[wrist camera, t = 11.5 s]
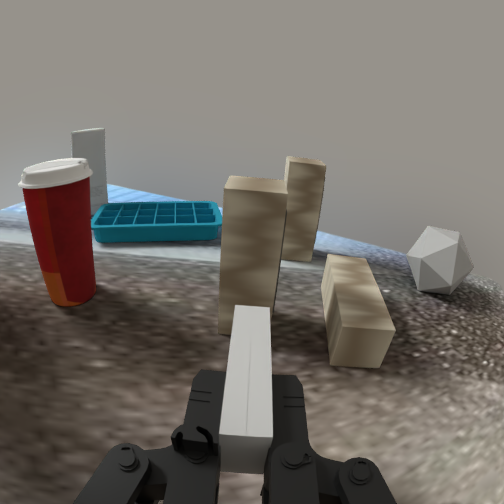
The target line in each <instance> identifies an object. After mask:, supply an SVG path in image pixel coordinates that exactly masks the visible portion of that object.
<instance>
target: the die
mask: <svg viewBox="0 0 504 504" xmlns="http://www.w3.org/2000/svg"><path fill="white" fill-rule="evenodd" d="M406 256H407V259H408V262H409V265H410V268H411V271H412V274H413V277H414V280H415V283H416V286H417V289H418V291H424V292H432V293H440V294H448V295H450V294H451V293H452V292H453V291H454V290H455V289H456V288H457V286H458V285H459V284H460V283H461V282H462V281H463V280H464V278H465V277H466V276H467V275H468V274H469V273H470V272H471V270H472V269H473V268H474V266H473V263H472V261H471V258H470V256H469V253H468V251H467V248H466V246H465V243H464V241H463V239H462V236H461V234H460V233H459V232H455V231H451V230H446V229H441V228H436V227H431V226H428V227H427V228H426V229H425V231H424V232H423V233H422V235H421V236H420V238H419V239H418V240H417V242H416V243H415V244H414V246H413V247H412V248H411V250H410V251H409V252H408V253H407V255H406Z"/></svg>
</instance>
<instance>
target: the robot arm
mask: <svg viewBox="0 0 504 504" xmlns="http://www.w3.org/2000/svg"><path fill="white" fill-rule="evenodd" d="M171 440H172V445H171V446H168V447H166V448H161V449H153V450H143V449H142V448H140V447H139V446H137V445H134V444H130V443H126V444H119V445H117V446H114V447H113V448H112V449H111V450H110V451H109V452H108V454H107V455H106V457H105V458H104V459H103V461H102V462H101V464H100V465H99V467H98V468H97V470H96V471H95V472H94V474H93V475H92V477H91V478H90V480H89V481H88V483H87V484H86V485H85V487H84V488H83V490H82V491H81V493H80V494H79V496H78V497H77V498H76V500H75V501H74V503H73V504H158V502H159V500H164V502H163V504H217V503H218V493H219V477H220V471H222V472H234V473H249V474H263V473H264V484H263V487H262V490H261V494H260V496H262V504H397V503H396V501H395V500H394V498H393V496H392V494H391V492H390V490H389V488H388V486H387V484H386V482H385V480H384V479H383V477H382V475H381V473H380V471H379V469H378V467H377V466H376V465H375V464H374V463H373V462H372V461H370V460H368V459H366V458H360V457H358V458H351V459H349V460H347V461H346V462H339V461H335V460H330V459H327V458H324V457H321V456H320V455H318V454H317V453H316V452H315V451H314V450H313V449H312V448H311V446H310V443H309V440H308V430H307V421H306V412H305V403H304V394H303V386H302V384H301V383H300V381H299V380H298V378H297V376H296V375H273V374H272V369H271V333H270V307H257V306H244V305H235V310H234V318H233V326H232V333H231V341H230V349H229V357H228V365H227V372H221V371H211V370H200V372H199V373H198V374H197V375H196V376H195V378H194V379H193V383H192V388H191V392H190V396H189V401H188V405H187V410H186V414H185V419H184V424H183V425H180V426H179V427H178V428H177V429H175V430H174V432H173V434H172V436H171Z"/></svg>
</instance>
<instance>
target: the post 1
mask: <svg viewBox="0 0 504 504" xmlns="http://www.w3.org/2000/svg"><path fill="white" fill-rule="evenodd" d="M287 198H288V192H287V189H286V186H285V183H284V180H276V179H265V178H254V177H242V176H230V177H229V179H228V181H227V183H226V185H225V187H224V198H223V216H222V236H221V259H220V285H219V317H218V334H227V335H231V333H232V326H233V318H234V310H235V305H244V306H257V307H270V325H271V318H272V313H273V312H274V306H275V299H276V292H277V285H278V278H279V271H280V263H281V256H282V249H283V241H284V233H285V226H286V218H287V209H286V207H287Z"/></svg>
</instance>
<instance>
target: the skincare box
mask: <svg viewBox="0 0 504 504" xmlns="http://www.w3.org/2000/svg"><path fill="white" fill-rule="evenodd" d="M71 148H72V149H71V151H72V158H84V159H87V161H88V165H89V169H91V170H92V172H93V174H92V175H91V176H90V201H91V216H93V215H95V213H96V212H97V211H98V209H99V208H100V206H101V205H103V204H107V203H108V194H107V182H106V163H105V129H103V128H95V129H87V130H80V131H74V132H71Z"/></svg>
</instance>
